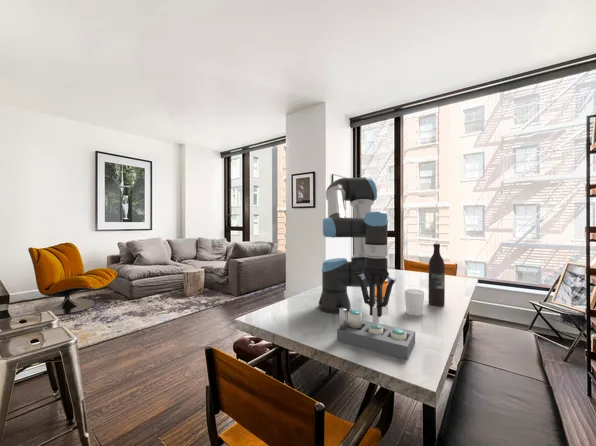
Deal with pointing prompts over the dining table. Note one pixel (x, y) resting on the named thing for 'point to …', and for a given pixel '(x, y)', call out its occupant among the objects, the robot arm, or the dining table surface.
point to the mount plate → (378, 340)
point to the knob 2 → (398, 334)
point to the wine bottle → (436, 278)
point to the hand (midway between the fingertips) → (375, 325)
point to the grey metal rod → (342, 318)
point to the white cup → (414, 302)
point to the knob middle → (376, 329)
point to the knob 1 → (354, 319)
